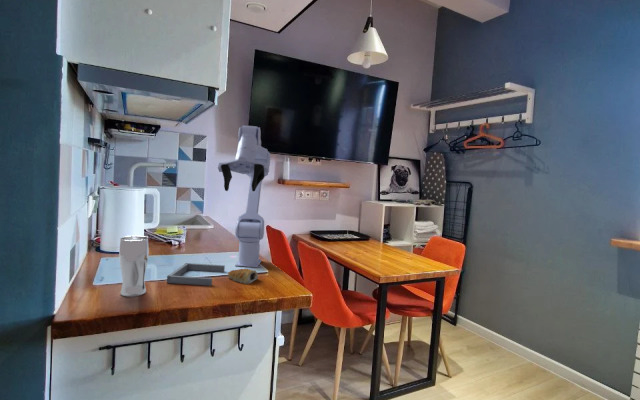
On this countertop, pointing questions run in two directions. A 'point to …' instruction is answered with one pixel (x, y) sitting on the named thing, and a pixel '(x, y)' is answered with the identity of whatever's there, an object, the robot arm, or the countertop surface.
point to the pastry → (243, 275)
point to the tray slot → (179, 279)
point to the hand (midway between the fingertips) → (239, 188)
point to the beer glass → (133, 264)
